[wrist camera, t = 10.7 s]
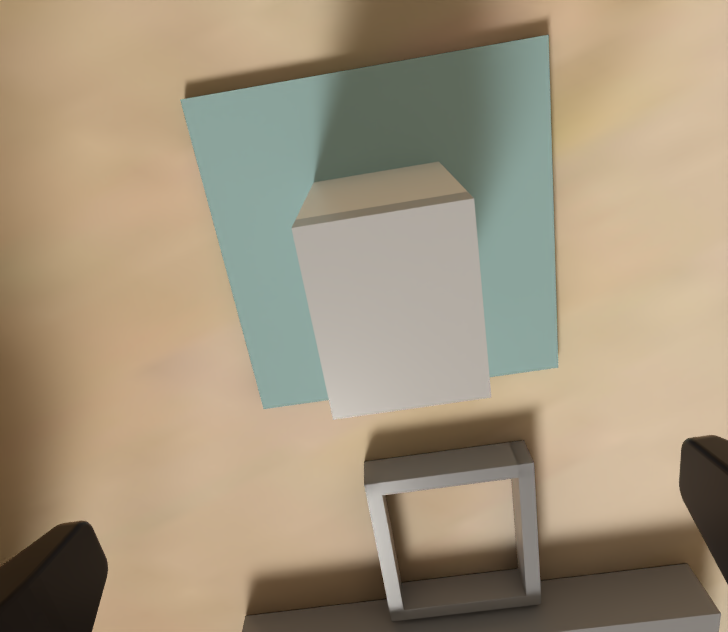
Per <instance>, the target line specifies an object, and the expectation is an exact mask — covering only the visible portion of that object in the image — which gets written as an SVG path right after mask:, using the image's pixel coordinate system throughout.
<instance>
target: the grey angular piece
mask: <svg viewBox="0 0 728 632" xmlns="http://www.w3.org/2000/svg"><path fill="white" fill-rule="evenodd" d="M505 479H511V481H512V494H513V508H514V522H515V536H516V550H517V563H518V569H512V570H504V571H495V572H487V573H479V574H470V575H462V576H454V577H445V578H437V579H429V580H420V581H412V582H404V583H401V577H400V572H399V566H398V561H397V556H396V550H395V545H394V539H393V534H392V528H391V523H390V517H389V512H388V507H387V501H386V496H385V495H389V494H397V493H404V492H412V491H420V490H428V489H435V488H443V487H451V486H458V485H466V484H474V483H481V482H489V481H497V480H505ZM364 486H365V491H366V496H367V501H368V506H369V511H370V516H371V521H372V526H373V531H374V536H375V541H376V546H377V551H378V556H379V561H380V566H381V571H382V576H383V581H384V586H385V591H386V596H387V599H384V600H376V601H368V602H359V603H351V604H342V605H334V606H325V607H317V608H309V609H300V610H292V611H283V612H275V613H266V614H258V615H250V616H245V621H244V625H243V630H242V632H719V625H720V617H721V613H720V611H719V610H718V608H717V607H716V605H715V604H714V602H713V601H712V599H711V598H710V596H709V595H708V593H707V592H706V590H705V589H704V588H703V586H702V585H701V583H700V582H699V580H698V579H697V577H696V576H695V574H694V573H693V571H692V570H691V568H690V567H689V565H688V564H679V565H671V566H662V567H654V568H645V569H637V570H629V571H620V572H612V573H603V574H595V575H587V576H578V577H570V578H561V579H553V580H544V581H540V568H539V549H538V530H537V511H536V491H535V472H534V462H533V459H532V457H531V455H530V453H529V450H528V448H527V446H526V444H525V442H524V440H523V441H515V442H508V443H501V444H493V445H486V446H478V447H471V448H463V449H456V450H448V451H441V452H433V453H426V454H418V455H411V456H403V457H396V458H388V459H381V460H374V461H366V462H364Z"/></svg>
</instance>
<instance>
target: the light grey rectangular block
mask: <svg viewBox="0 0 728 632" xmlns="http://www.w3.org/2000/svg"><path fill="white" fill-rule="evenodd" d="M292 233H293V238H294V242H295V247H296V251H297V256H298V261H299V265H300V270H301V274H302V279H303V284H304V288H305V293H306V297H307V302H308V306H309V311H310V316H311V320H312V325H313V329H314V334H315V339H316V343H317V348H318V352H319V357H320V362H321V366H322V371H323V375H324V380H325V385H326V389H327V394H328V398H329V403H330V408H331V412H332V417H333V420H335V419H342V418H349V417H356V416H363V415H370V414H377V413H384V412H391V411H398V410H406V409H413V408H420V407H427V406H434V405H441V404H448V403H455V402H462V401H469V400H477V399H484V398H491V388H490V377H489V365H488V354H487V342H486V330H485V319H484V307H483V296H482V284H481V273H480V261H479V250H478V238H477V226H476V215H475V203H474V198H473V197H472V196H471V195H470V194H469V193H468V191H467V190H466V189H465V188H464V187H463V186H462V185H461V184H460V183H459V182H458V181H457V180H456V179H455V178H454V177H453V176H452V175H451V174H450V173H449V172H448V171H447V170H446V169H445V168H444V166H443V165H442V164H441V163H440V162H433V163H427V164H421V165H415V166H409V167H403V168H397V169H391V170H385V171H379V172H373V173H367V174H361V175H355V176H349V177H343V178H337V179H331V180H325V181H319V182H314V183H313V185H312V187H311V189H310V191H309V193H308V195H307V197H306V199H305V201H304V203H303V205H302V207H301V209H300V211H299V214H298V216H297V218H296V220H295V222H294V224H293V226H292Z"/></svg>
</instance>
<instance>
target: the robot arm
mask: <svg viewBox="0 0 728 632" xmlns="http://www.w3.org/2000/svg"><path fill="white" fill-rule="evenodd" d="M679 487H680V492H681V496H682V499H683V501H684V503H685V505H686V507H687V508H688V510H689V512H690V514H691V516H692V518H693V520H694V522H695V524H696V525H697V527H698V529H699V531H700V533H701V535H702V537H703V539H704V541H705V542H706V544H707V546H708V548H709V550H710V552H711V554H712V556H713V558H714V559H715V561H716V563H717V565H718V567H719V569H720V571H721V573H722V575H723V576H724V578H725V580H726V582H727V584H728V440H726V439H723V438H721V437H718V436H715V435H707V436H700V437H693V438H688V439H686V440H685V441H684V442H683V444H682V448H681V462H680V477H679ZM107 573H108V564H107V559H106V556H105V554H104V552H103V550H102V547H101V545H100V543H99V541H98V538H97V536H96V534H95V532H94V530H93V528H92V526H91V524H89V523H88V522H87V521H76V522H68V523H62V524H59V525H57V526H56V527H54V528H53V529H51V530H50V531H49V532H47V533H46V534H45V535H43V536H42V537H41V538H39V539H38V540H36V541H35V542H34V543H32V544H31V545H30V546H28V547H27V548H26V549H24V550H23V551H21V552H20V553H19V554H17V555H16V556H15V557H13V558H12V559H11V560H9V561H8V562H6V563H5V564H4V565H2V566H1V567H0V632H92V629H93V626H94V622H95V618H96V615H97V611H98V607H99V604H100V600H101V596H102V593H103V589H104V586H105V582H106V578H107Z"/></svg>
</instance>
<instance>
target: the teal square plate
mask: <svg viewBox="0 0 728 632" xmlns="http://www.w3.org/2000/svg"><path fill="white" fill-rule="evenodd" d="M181 104H182V108H183V112H184V115H185V119H186V123H187V126H188V130H189V134H190V138H191V141H192V145H193V149H194V152H195V156H196V160H197V164H198V167H199V171H200V175H201V178H202V182H203V186H204V189H205V193H206V197H207V201H208V204H209V208H210V212H211V215H212V219H213V223H214V227H215V230H216V234H217V238H218V241H219V245H220V249H221V253H222V256H223V260H224V264H225V267H226V271H227V275H228V278H229V282H230V286H231V290H232V293H233V297H234V301H235V304H236V308H237V312H238V316H239V319H240V323H241V327H242V330H243V334H244V338H245V341H246V345H247V349H248V353H249V356H250V360H251V364H252V367H253V371H254V375H255V379H256V382H257V386H258V390H259V393H260V397H261V401H262V405H263V408H264V409H268V408H275V407H282V406H289V405H296V404H303V403H310V402H317V401H324V400H329V398H328V394H327V389H326V385H325V380H324V375H323V371H322V366H321V362H320V357H319V352H318V348H317V343H316V339H315V334H314V329H313V325H312V320H311V316H310V311H309V306H308V302H307V297H306V293H305V288H304V284H303V279H302V274H301V270H300V265H299V261H298V256H297V251H296V247H295V242H294V238H293V233H292V226H293V224H294V222H295V220H296V218H297V216H298V214H299V211H300V209H301V207H302V205H303V203H304V201H305V199H306V197H307V195H308V193H309V191H310V189H311V187H312V185H313V183H314V182H319V181H325V180H331V179H337V178H343V177H349V176H355V175H361V174H367V173H373V172H379V171H385V170H391V169H397V168H403V167H409V166H415V165H421V164H427V163H433V162H440V163H441V164H442V165H443V166H444V168H445V169H446V170H447V171H448V172H449V173H450V174H451V175H452V176H453V177H454V178H455V179H456V180H457V181H458V182H459V183H460V184H461V185H462V186H463V187H464V188H465V189H466V190H467V191H468V193H469V194H470V195H471V196H472V197H473V198H474V203H475V215H476V226H477V238H478V250H479V261H480V273H481V284H482V296H483V307H484V319H485V330H486V342H487V354H488V365H489V377H494V376H501V375H509V374H516V373H523V372H530V371H537V370H544V369H551V368H558V343H557V309H556V275H555V240H554V206H553V172H552V138H551V104H550V70H549V35H544V36H539V37H533V38H527V39H522V40H516V41H510V42H505V43H499V44H493V45H488V46H482V47H476V48H471V49H465V50H459V51H454V52H448V53H442V54H437V55H431V56H425V57H420V58H414V59H408V60H403V61H397V62H391V63H386V64H380V65H374V66H369V67H363V68H357V69H352V70H346V71H340V72H335V73H329V74H323V75H318V76H312V77H306V78H301V79H295V80H289V81H284V82H278V83H272V84H267V85H261V86H255V87H250V88H244V89H238V90H233V91H227V92H221V93H216V94H210V95H204V96H199V97H193V98H187V99H182V100H181Z"/></svg>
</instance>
